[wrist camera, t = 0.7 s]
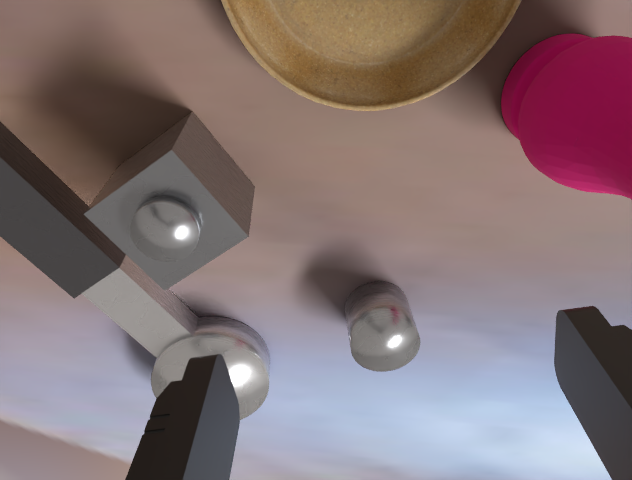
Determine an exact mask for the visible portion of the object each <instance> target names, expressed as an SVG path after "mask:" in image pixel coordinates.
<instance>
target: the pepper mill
mask: <svg viewBox="0 0 632 480" xmlns="http://www.w3.org/2000/svg"><path fill="white" fill-rule="evenodd" d="M501 109H502V115H503V119H504V121H505V124H506V125H507V127H508V129H509V130H510V131H511V133H512V134H513V135H514V136H515V137H516V138H518V139H519V140H520V143H521V146H522V148H523V150H524V152H525V155H526V156H527V158H528V159H529V161H530V162H531V164H532V165H533V166H534V167H536V168H537V169H538V170H539V171H540V172H542V173H543V174H545V175H546V176H548V177H549V178H551V179H552V180H554V181H555V182H557V183H560V184H562V185H564V186H567V187H571V188H574V189H577V190H581V191H586V192H596V193H609V194H616V195H622V196H625V197H628V198H630V199H632V38H629V37H623V36H602V37H596V38H592V37H589V36H585V35H582V34H574V33H572V34H560V35H556V36H553V37H550V38H547V39H545V40H543V41H541V42H539V43H538V44H536V45H535V46H533V47H532V48H531V49H529V50H528V51H527V52H526V53H525V54H524V55H523V56H522V57H521V58H520V59H519V60H518V61H517V62H516V64H515V65H514V66H513V68H512V69H511V71H510V73H509V75H508V77H507V79H506V82H505V84H504V87H503V92H502V99H501Z"/></svg>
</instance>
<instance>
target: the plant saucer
mask: <svg viewBox="0 0 632 480" xmlns="http://www.w3.org/2000/svg"><path fill="white" fill-rule="evenodd" d="M521 1H522V0H221V2H222V4H223V7H224V9H225V11H226V14H227V16H228V18H229V20H230V23H231V25H232V27H233V28H234V30H235V32H236V33H237V35H238V36H239V38H240V40H241V42H242V43H243V45H244V46H245V47H246V48H247V50H248V51H249V53H250V54H251V56H252V57H253V58H254V59H255V60H256V61H257V62H258V63H259V64H260V65H261V66H262V67H263V68H264V69H265V70H266V71H267V72H268V73H269V74H270V75H271V76H273V77H274V78H275V79H277V80H278V81H279V82H280V83H281V84H283V85H284V86H286V87H287V88H289V89H290V90H292V91H294V92H296V93H297V94H299V95H301V96H303V97H305V98H308V99H310V100H312V101H314V102H317V103H321V104H324V105H327V106H331V107H334V108H341V109H346V110H357V111H378V110H385V109H392V108H397V107H400V106H404V105H408V104H411V103H414V102H417V101H419V100H422V99H425V98H427V97H429V96H431V95H433V94H436V93H437V92H439V91H441V90H443V89H444V88H446V87H447V86H449V85H450V84H452V83H454V82H455V81H457V80H458V79H460V78H461V77H462V76H463V75H465V74H466V73H467V72H468V71H469V70H471V69H472V68H473V67H474V66H475V65H476V64H477V63H478V62H479V61H480V60H481V59H482V58H483V57H484V56H485V55H486V54H487V52H488V51H489V50H490V49H491V48H492V47H493V45H494V44H495V43H496V42H497V40H498V39H499V37H500V36H501V35H502V33H503V32H504V30H505V29H506V27H507V26H508V24H509V23H510V21H511V19H512V18H513V16H514V14H515V12H516V10H517V9H518V7H519V5H520V2H521Z"/></svg>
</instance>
